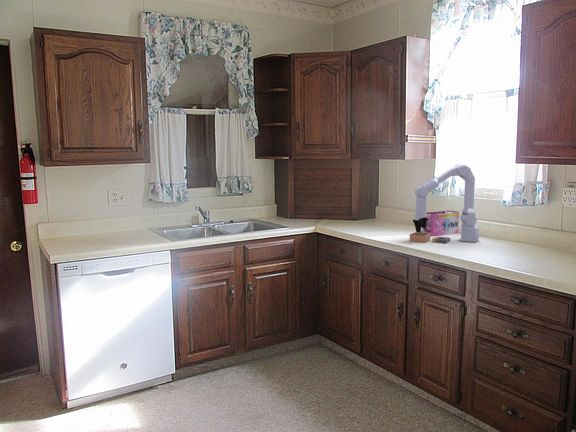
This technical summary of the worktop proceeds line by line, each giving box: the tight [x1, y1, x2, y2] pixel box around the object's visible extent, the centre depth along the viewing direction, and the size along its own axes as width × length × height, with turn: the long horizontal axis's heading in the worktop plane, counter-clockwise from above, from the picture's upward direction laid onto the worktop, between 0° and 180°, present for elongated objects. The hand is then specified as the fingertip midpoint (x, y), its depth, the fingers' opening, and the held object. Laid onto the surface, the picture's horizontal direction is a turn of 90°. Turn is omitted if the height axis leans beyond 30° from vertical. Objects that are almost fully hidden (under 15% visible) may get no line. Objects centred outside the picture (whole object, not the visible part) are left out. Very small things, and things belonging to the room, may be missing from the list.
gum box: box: [423, 210, 460, 237], centre depth 312 cm, size 24×8×14 cm, turn 120°
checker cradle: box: [431, 236, 451, 244], centre depth 288 cm, size 8×8×2 cm
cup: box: [409, 231, 432, 244], centre depth 291 cm, size 9×9×4 cm
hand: (420, 231), depth 290 cm, fingers open, 7 cm apart
